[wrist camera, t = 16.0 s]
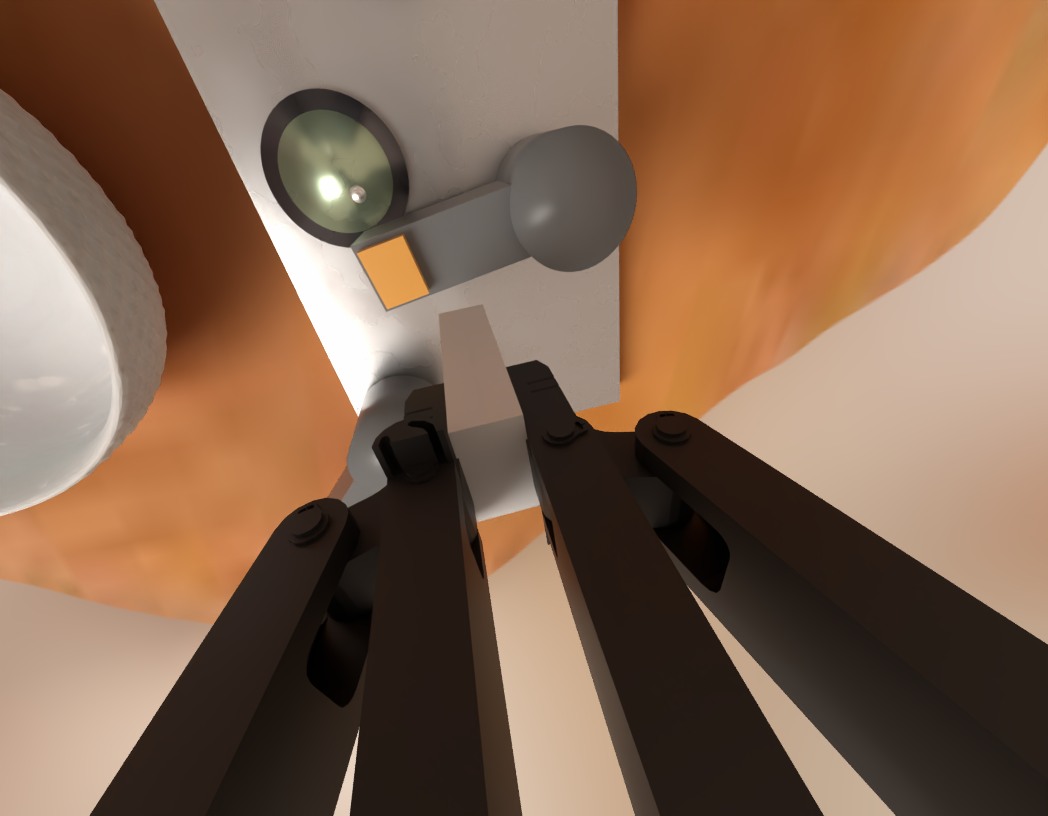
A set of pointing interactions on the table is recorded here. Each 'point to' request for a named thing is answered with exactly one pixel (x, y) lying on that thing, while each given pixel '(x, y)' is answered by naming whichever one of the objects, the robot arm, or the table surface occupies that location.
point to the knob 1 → (373, 437)
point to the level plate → (409, 159)
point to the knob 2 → (510, 218)
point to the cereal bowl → (66, 318)
